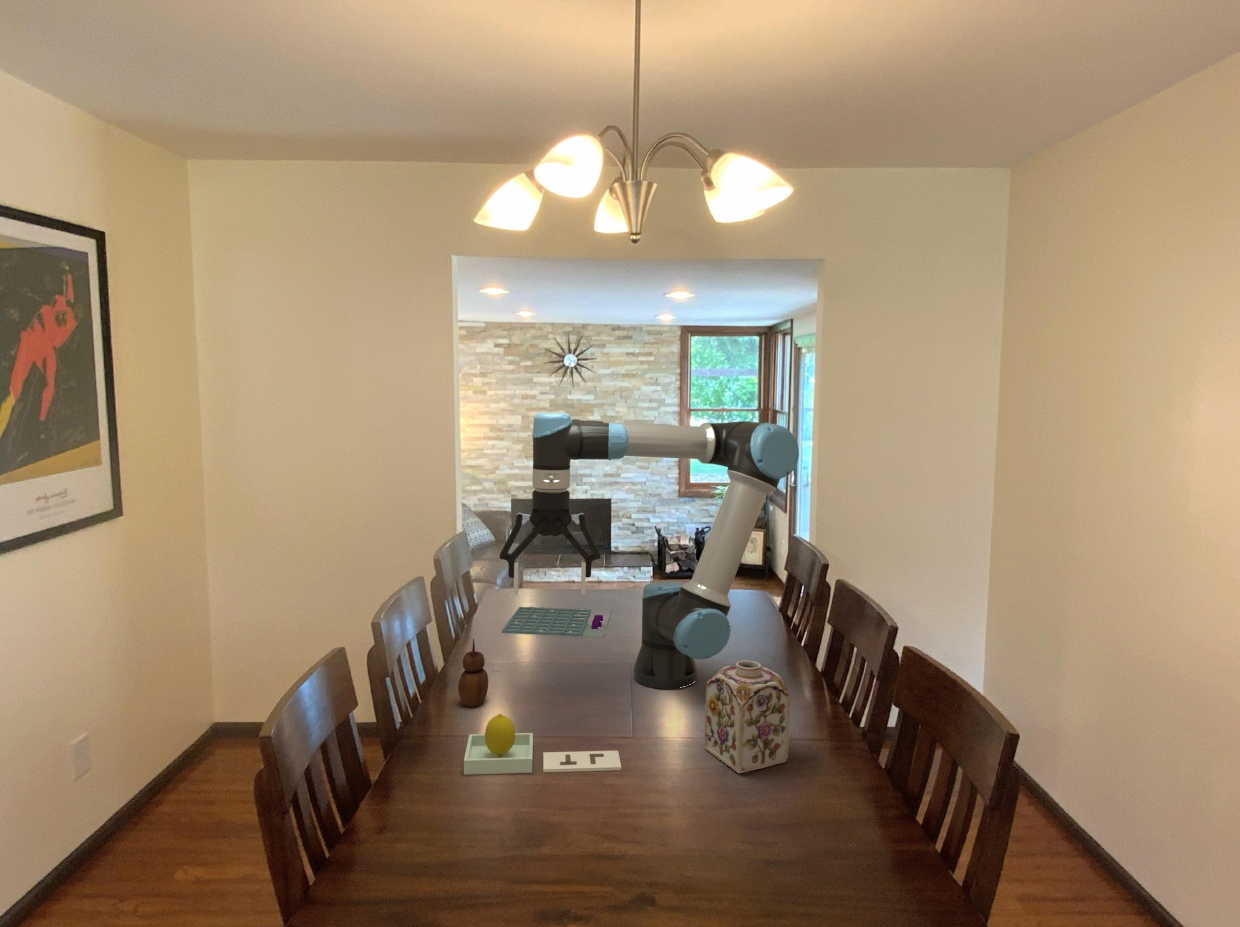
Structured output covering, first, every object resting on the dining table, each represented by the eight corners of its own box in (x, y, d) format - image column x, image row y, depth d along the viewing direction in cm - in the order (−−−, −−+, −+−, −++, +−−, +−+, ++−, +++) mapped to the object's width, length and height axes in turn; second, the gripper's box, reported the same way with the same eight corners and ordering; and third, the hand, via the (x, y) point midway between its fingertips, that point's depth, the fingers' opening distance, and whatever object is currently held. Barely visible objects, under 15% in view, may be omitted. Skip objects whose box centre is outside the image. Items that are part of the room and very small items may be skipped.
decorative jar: (737, 776, 138) (741, 679, 137) (701, 749, 149) (704, 658, 147) (790, 763, 144) (794, 669, 142) (752, 737, 154) (755, 649, 152)
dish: (532, 745, 148) (532, 732, 148) (532, 772, 138) (532, 758, 138) (469, 747, 147) (469, 734, 147) (463, 774, 137) (463, 760, 137)
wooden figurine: (480, 711, 164) (480, 642, 162) (454, 708, 165) (454, 639, 163) (491, 698, 170) (492, 632, 169) (467, 696, 171) (467, 630, 170)
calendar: (521, 608, 243) (521, 600, 243) (612, 611, 241) (612, 604, 241) (501, 635, 216) (501, 627, 216) (603, 640, 214) (603, 631, 213)
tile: (617, 753, 146) (617, 749, 146) (621, 770, 140) (621, 766, 140) (543, 755, 145) (543, 751, 144) (543, 772, 138) (543, 768, 138)
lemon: (485, 749, 145) (486, 708, 144) (515, 748, 146) (516, 707, 145) (483, 763, 140) (483, 721, 139) (514, 762, 140) (514, 720, 139)
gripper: (486, 491, 151) (486, 598, 153) (614, 492, 153) (612, 597, 155) (489, 486, 158) (489, 588, 160) (611, 487, 161) (609, 587, 163)
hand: (549, 593), depth 158 cm, fingers open, 13 cm apart
